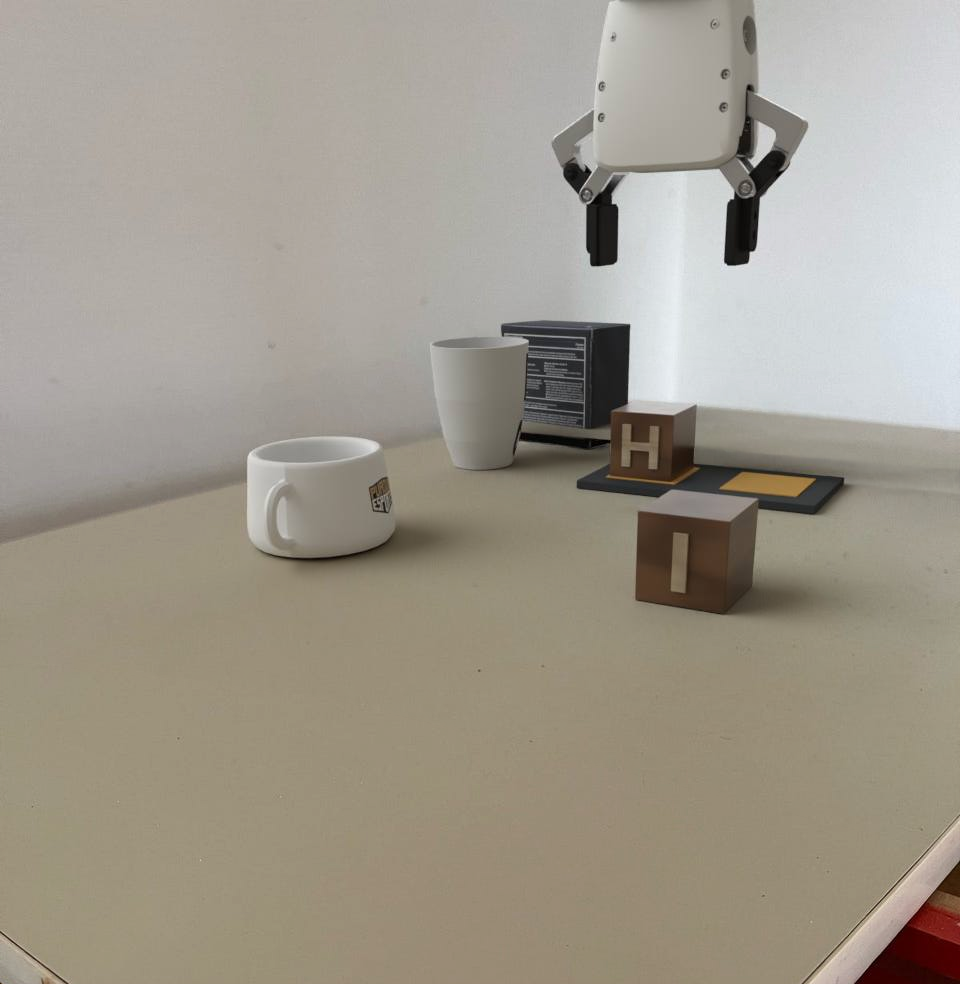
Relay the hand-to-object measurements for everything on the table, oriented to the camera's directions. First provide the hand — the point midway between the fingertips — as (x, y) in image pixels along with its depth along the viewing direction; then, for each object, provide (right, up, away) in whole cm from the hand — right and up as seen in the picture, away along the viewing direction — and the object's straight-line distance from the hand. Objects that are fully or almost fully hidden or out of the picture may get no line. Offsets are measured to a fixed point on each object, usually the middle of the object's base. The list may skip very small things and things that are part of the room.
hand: (668, 264), depth 70 cm
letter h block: (+1, -13, +10) cm, 16 cm away
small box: (-5, -7, +26) cm, 28 cm away
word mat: (+5, -14, +8) cm, 17 cm away
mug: (-24, -20, -3) cm, 31 cm away
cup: (-13, -11, +18) cm, 24 cm away
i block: (-1, -23, -14) cm, 27 cm away
